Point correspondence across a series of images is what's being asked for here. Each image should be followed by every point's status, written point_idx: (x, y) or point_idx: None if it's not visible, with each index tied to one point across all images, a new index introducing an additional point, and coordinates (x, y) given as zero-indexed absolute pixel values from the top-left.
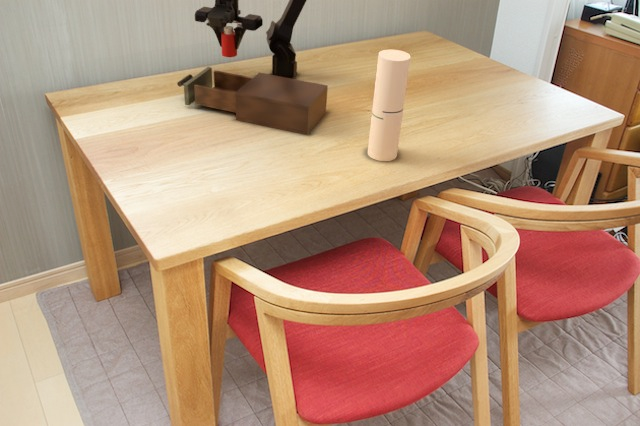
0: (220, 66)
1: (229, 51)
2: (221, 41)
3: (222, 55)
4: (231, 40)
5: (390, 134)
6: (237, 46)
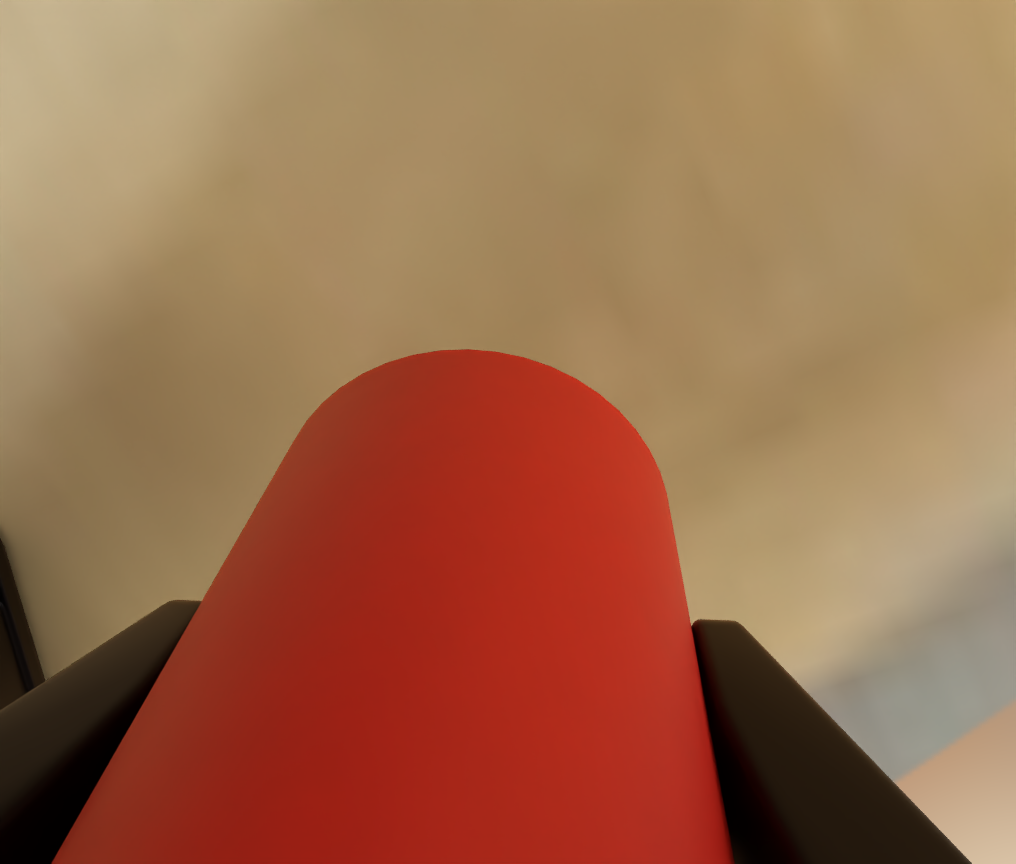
0: (810, 609)
1: (333, 442)
2: (687, 713)
3: (610, 405)
4: (122, 757)
5: None
6: (82, 665)
